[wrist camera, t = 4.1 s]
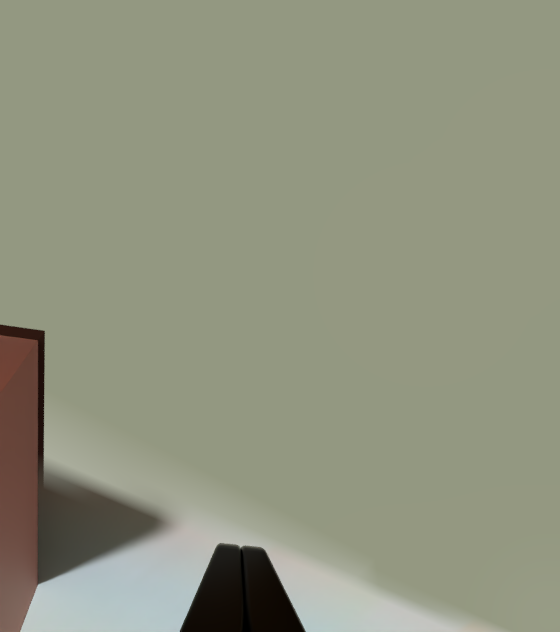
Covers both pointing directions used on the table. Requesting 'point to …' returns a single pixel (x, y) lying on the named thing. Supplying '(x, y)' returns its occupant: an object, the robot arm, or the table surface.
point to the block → (20, 468)
